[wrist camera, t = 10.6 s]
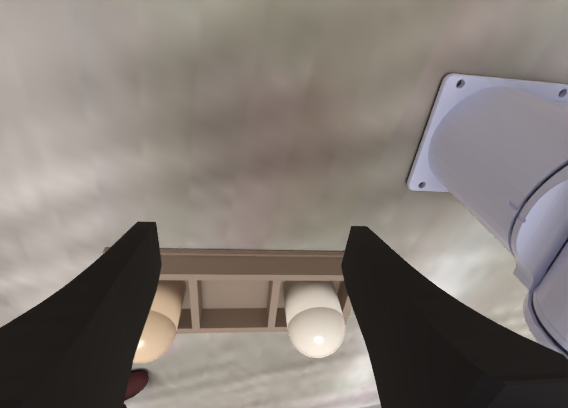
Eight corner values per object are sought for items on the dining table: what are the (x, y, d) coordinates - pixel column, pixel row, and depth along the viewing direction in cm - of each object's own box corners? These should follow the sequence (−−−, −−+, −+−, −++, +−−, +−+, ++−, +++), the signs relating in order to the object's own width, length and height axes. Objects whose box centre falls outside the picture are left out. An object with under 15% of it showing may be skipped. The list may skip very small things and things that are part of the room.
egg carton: (355, 251, 27) (364, 273, 25) (339, 308, 31) (345, 331, 29) (105, 247, 25) (92, 271, 23) (121, 310, 28) (111, 336, 26)
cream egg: (337, 268, 27) (358, 333, 22) (328, 303, 30) (345, 369, 25) (285, 267, 27) (294, 334, 22) (280, 303, 29) (287, 371, 24)
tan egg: (181, 265, 26) (163, 336, 20) (189, 303, 28) (174, 374, 23) (123, 267, 25) (90, 339, 20) (136, 305, 28) (109, 378, 22)
